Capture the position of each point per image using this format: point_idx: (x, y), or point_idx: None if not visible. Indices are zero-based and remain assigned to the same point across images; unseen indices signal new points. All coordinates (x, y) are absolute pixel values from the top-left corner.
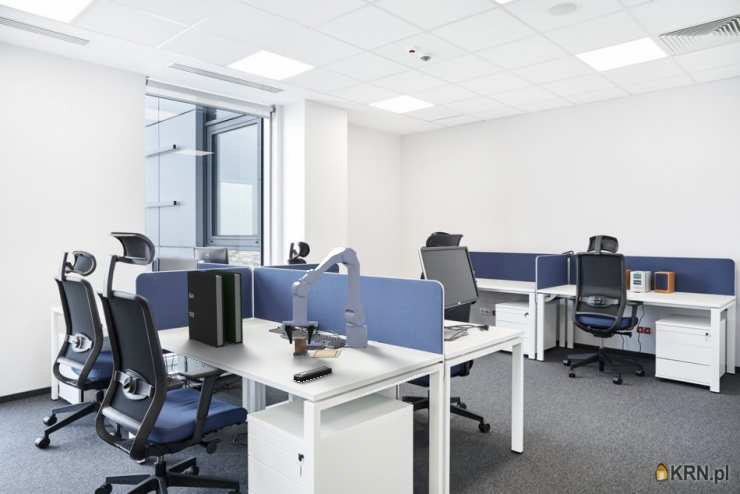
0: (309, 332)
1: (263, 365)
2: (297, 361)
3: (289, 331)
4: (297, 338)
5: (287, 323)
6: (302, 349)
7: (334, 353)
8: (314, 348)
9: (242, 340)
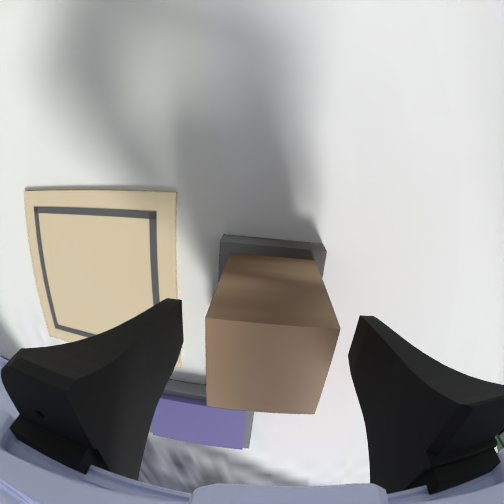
0: (91, 353)
1: (469, 34)
2: (267, 71)
3: (440, 387)
4: (300, 339)
5: (497, 493)
6: (243, 264)
7: (50, 269)
8: (189, 387)
9: (499, 436)
